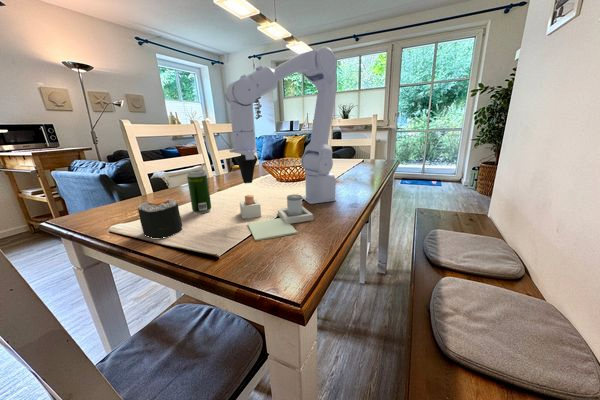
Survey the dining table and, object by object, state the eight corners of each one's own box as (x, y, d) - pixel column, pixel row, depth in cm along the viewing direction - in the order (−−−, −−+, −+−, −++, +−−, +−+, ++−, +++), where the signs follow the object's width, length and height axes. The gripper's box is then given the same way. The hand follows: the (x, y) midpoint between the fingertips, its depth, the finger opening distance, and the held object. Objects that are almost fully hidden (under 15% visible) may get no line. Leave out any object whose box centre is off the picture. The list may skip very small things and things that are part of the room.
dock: (302, 210, 73) (302, 206, 72) (313, 219, 66) (313, 214, 66) (277, 214, 70) (277, 209, 70) (286, 224, 64) (285, 218, 63)
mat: (284, 218, 67) (284, 217, 67) (297, 233, 58) (297, 231, 58) (247, 224, 64) (247, 223, 64) (255, 241, 55) (255, 239, 55)
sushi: (167, 222, 66) (162, 194, 64) (188, 228, 62) (183, 198, 60) (137, 234, 59) (129, 203, 57) (158, 241, 56) (151, 208, 53)
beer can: (214, 211, 74) (209, 171, 70) (196, 215, 71) (189, 174, 67) (208, 206, 78) (202, 169, 74) (190, 210, 75) (184, 171, 71)
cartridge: (299, 213, 71) (298, 193, 69) (304, 218, 67) (304, 197, 65) (285, 215, 69) (285, 195, 68) (290, 220, 66) (289, 199, 64)
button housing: (257, 210, 74) (256, 199, 73) (261, 216, 69) (260, 204, 68) (240, 212, 72) (239, 201, 71) (243, 218, 68) (242, 206, 67)
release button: (253, 202, 71) (252, 194, 71) (254, 205, 69) (254, 196, 68) (244, 203, 71) (244, 195, 70) (246, 206, 68) (245, 197, 68)
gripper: (225, 131, 69) (230, 178, 73) (230, 133, 56) (236, 190, 60) (250, 130, 71) (254, 176, 75) (261, 132, 58) (264, 187, 62)
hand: (247, 182), depth 68 cm, fingers closed
